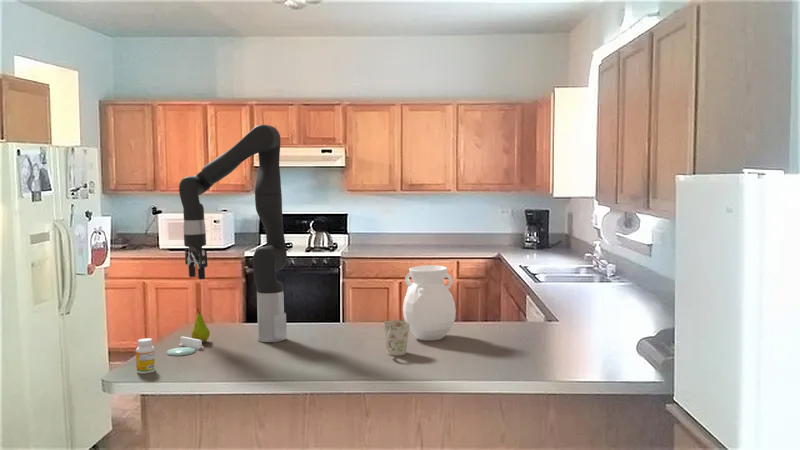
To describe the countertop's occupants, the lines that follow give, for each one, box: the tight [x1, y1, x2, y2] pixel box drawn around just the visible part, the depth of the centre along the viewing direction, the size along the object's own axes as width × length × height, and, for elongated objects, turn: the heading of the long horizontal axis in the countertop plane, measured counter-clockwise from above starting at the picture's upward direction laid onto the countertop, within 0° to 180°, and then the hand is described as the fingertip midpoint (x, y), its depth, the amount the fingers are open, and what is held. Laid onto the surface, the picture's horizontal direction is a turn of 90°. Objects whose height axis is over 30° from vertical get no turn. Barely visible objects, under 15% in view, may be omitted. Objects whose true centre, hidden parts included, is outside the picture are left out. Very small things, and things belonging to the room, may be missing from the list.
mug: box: [383, 320, 410, 357], centre depth 243 cm, size 8×13×10 cm, turn 161°
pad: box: [166, 346, 196, 357], centre depth 250 cm, size 9×9×1 cm
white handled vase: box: [402, 264, 457, 342], centre depth 266 cm, size 19×18×25 cm
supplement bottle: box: [135, 337, 156, 375], centre depth 227 cm, size 5×5×10 cm
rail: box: [178, 335, 205, 351], centre depth 257 cm, size 10×2×3 cm, turn 54°
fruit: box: [191, 308, 211, 344], centre depth 264 cm, size 6×6×12 cm
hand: (196, 278), depth 269 cm, fingers open, 8 cm apart
